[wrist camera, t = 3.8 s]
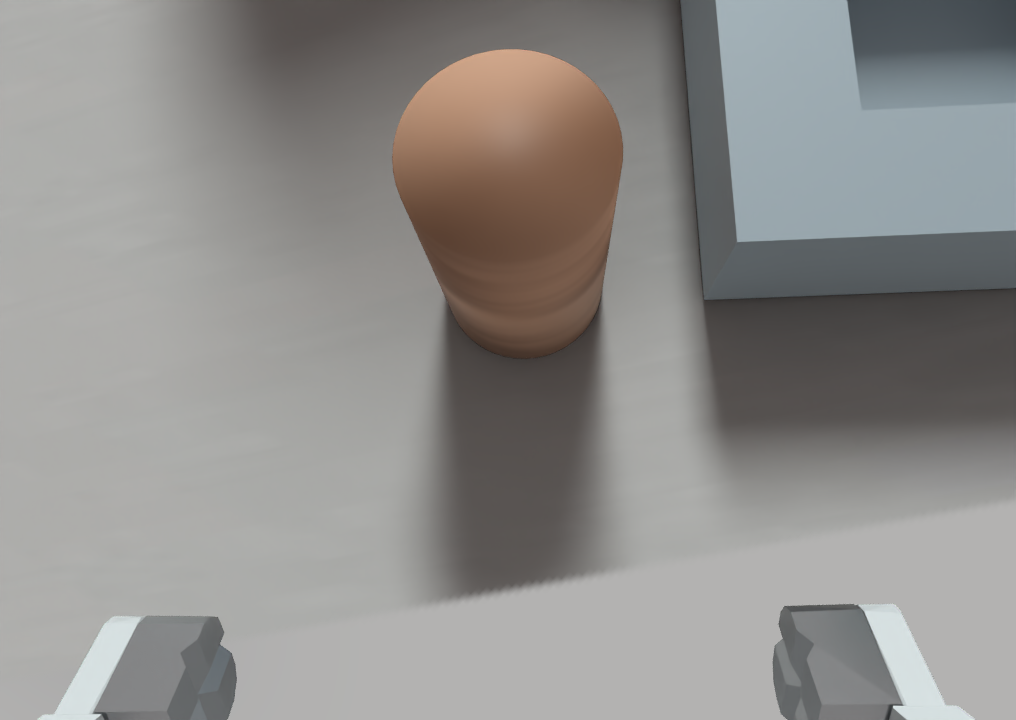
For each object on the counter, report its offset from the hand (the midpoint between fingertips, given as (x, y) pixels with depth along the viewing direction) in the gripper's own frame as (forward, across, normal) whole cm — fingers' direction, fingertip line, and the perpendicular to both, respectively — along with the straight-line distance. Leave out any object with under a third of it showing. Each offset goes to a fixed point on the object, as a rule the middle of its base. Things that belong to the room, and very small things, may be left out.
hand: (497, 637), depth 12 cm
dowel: (+16, 0, +2) cm, 16 cm away
